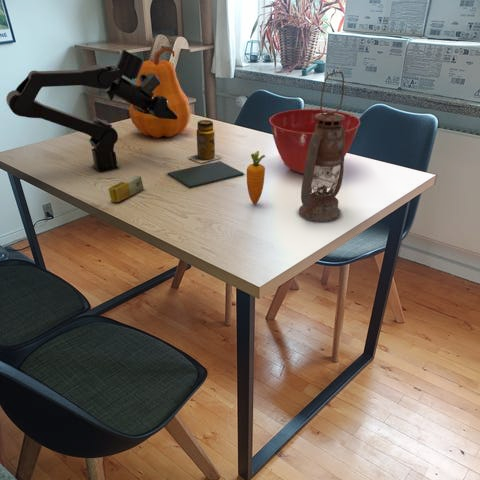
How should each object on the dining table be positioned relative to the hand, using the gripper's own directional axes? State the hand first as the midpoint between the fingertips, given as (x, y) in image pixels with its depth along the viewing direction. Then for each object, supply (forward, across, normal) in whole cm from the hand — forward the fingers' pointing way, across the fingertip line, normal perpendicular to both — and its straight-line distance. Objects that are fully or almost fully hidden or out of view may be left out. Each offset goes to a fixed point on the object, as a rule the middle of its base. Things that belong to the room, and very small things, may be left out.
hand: (171, 116), depth 163 cm
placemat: (+9, -20, +12) cm, 25 cm away
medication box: (-14, -23, +28) cm, 39 cm away
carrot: (+11, -48, +14) cm, 51 cm away
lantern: (+22, -62, +9) cm, 66 cm away
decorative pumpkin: (+13, +30, +5) cm, 33 cm away
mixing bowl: (+37, -32, -4) cm, 49 cm away
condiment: (+15, -5, +8) cm, 17 cm away
